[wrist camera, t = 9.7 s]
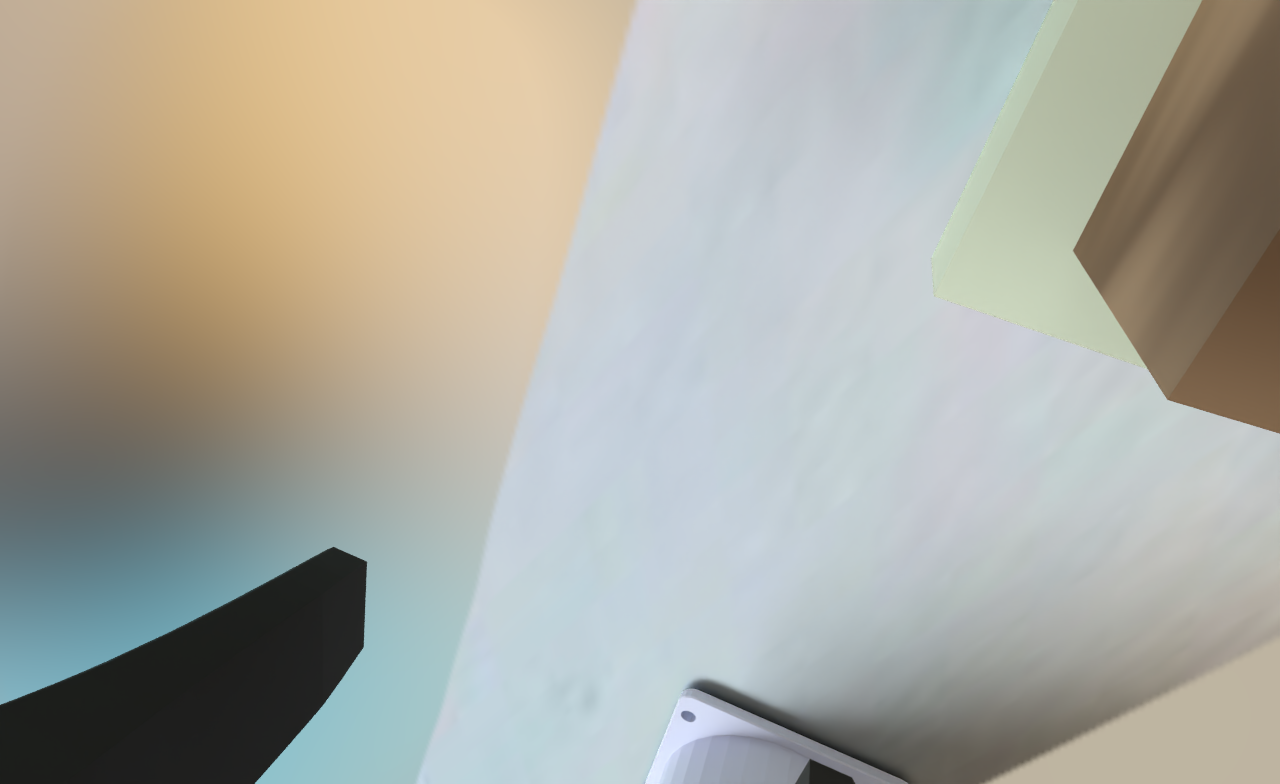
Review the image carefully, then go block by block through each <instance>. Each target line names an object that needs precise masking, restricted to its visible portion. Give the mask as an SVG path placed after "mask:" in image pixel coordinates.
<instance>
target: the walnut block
mask: <svg viewBox="0 0 1280 784" xmlns="http://www.w3.org/2000/svg"><path fill="white" fill-rule="evenodd" d="M1073 252H1074V254H1075V255H1076V257H1077V258H1078V260H1079V261H1080V263H1081V265H1082V266H1083V268H1084V269H1085V271H1086V272H1087V274H1088V276H1089V277H1090V279H1091V280H1092V282H1093V283H1094V285H1095V287H1096V288H1097V290H1098V291H1099V293H1100V294H1101V296H1102V298H1103V299H1104V301H1105V302H1106V304H1107V305H1108V307H1109V309H1110V310H1111V312H1112V313H1113V315H1114V316H1115V318H1116V320H1117V321H1118V323H1119V324H1120V326H1121V328H1122V329H1123V331H1124V332H1125V334H1126V335H1127V337H1128V339H1129V340H1130V342H1131V343H1132V345H1133V346H1134V348H1135V350H1136V351H1137V353H1138V354H1139V356H1140V357H1141V359H1142V361H1143V362H1144V364H1145V365H1146V367H1147V368H1148V370H1149V372H1150V373H1151V375H1152V376H1153V378H1154V379H1155V381H1156V383H1157V384H1158V386H1159V387H1160V389H1161V390H1162V392H1163V394H1164V395H1165V397H1166V398H1167V400H1170V401H1173V402H1177V403H1180V404H1183V405H1187V406H1190V407H1193V408H1197V409H1200V410H1203V411H1207V412H1210V413H1213V414H1217V415H1220V416H1223V417H1227V418H1230V419H1233V420H1237V421H1240V422H1243V423H1247V424H1250V425H1253V426H1256V427H1260V428H1263V429H1266V430H1270V431H1273V432H1276V433H1280V0H1202V2H1201V4H1200V6H1199V8H1198V10H1197V11H1196V13H1195V15H1194V17H1193V19H1192V21H1191V23H1190V25H1189V27H1188V29H1187V31H1186V33H1185V35H1184V37H1183V39H1182V40H1181V42H1180V44H1179V46H1178V48H1177V50H1176V52H1175V54H1174V56H1173V58H1172V60H1171V62H1170V64H1169V66H1168V68H1167V69H1166V71H1165V73H1164V75H1163V77H1162V79H1161V81H1160V83H1159V85H1158V87H1157V89H1156V91H1155V93H1154V95H1153V97H1152V98H1151V100H1150V102H1149V104H1148V106H1147V108H1146V110H1145V112H1144V114H1143V116H1142V118H1141V120H1140V122H1139V124H1138V126H1137V128H1136V129H1135V131H1134V133H1133V135H1132V137H1131V139H1130V141H1129V143H1128V145H1127V147H1126V149H1125V151H1124V153H1123V155H1122V157H1121V158H1120V160H1119V162H1118V164H1117V166H1116V168H1115V170H1114V172H1113V174H1112V176H1111V178H1110V180H1109V182H1108V184H1107V186H1106V187H1105V189H1104V191H1103V193H1102V195H1101V197H1100V199H1099V201H1098V203H1097V205H1096V207H1095V209H1094V211H1093V213H1092V215H1091V216H1090V218H1089V220H1088V222H1087V224H1086V226H1085V228H1084V230H1083V232H1082V234H1081V236H1080V238H1079V240H1078V242H1077V244H1076V245H1075V247H1074V249H1073Z"/></svg>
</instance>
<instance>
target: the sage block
mask: <svg viewBox="0 0 1280 784" xmlns="http://www.w3.org/2000/svg"><path fill="white" fill-rule="evenodd" d="M1201 2H1202V0H1053V2H1052V4H1051V6H1050V9H1049V11H1048V13H1047V15H1046V17H1045V19H1044V21H1043V23H1042V25H1041V28H1040V30H1039V32H1038V34H1037V36H1036V38H1035V40H1034V42H1033V45H1032V47H1031V49H1030V51H1029V53H1028V55H1027V57H1026V59H1025V61H1024V64H1023V66H1022V68H1021V70H1020V72H1019V74H1018V76H1017V78H1016V80H1015V83H1014V85H1013V87H1012V89H1011V91H1010V93H1009V95H1008V97H1007V99H1006V102H1005V104H1004V106H1003V108H1002V110H1001V112H1000V114H999V116H998V118H997V121H996V123H995V125H994V127H993V129H992V131H991V133H990V135H989V137H988V140H987V142H986V144H985V146H984V148H983V150H982V152H981V154H980V156H979V159H978V161H977V163H976V165H975V167H974V169H973V171H972V173H971V176H970V178H969V180H968V182H967V184H966V186H965V188H964V190H963V192H962V195H961V197H960V199H959V201H958V203H957V205H956V207H955V209H954V211H953V214H952V216H951V218H950V220H949V222H948V224H947V226H946V228H945V230H944V233H943V235H942V237H941V239H940V241H939V243H938V245H937V247H936V249H935V252H934V254H933V256H932V258H931V261H932V277H933V294H934V296H935V297H938V298H941V299H944V300H947V301H950V302H953V303H956V304H959V305H961V306H964V307H967V308H970V309H973V310H976V311H979V312H982V313H985V314H988V315H991V316H994V317H997V318H1000V319H1002V320H1005V321H1008V322H1011V323H1014V324H1017V325H1020V326H1023V327H1026V328H1029V329H1032V330H1035V331H1038V332H1041V333H1043V334H1046V335H1049V336H1052V337H1055V338H1058V339H1061V340H1064V341H1067V342H1070V343H1073V344H1076V345H1079V346H1082V347H1085V348H1087V349H1090V350H1093V351H1096V352H1099V353H1102V354H1105V355H1108V356H1111V357H1114V358H1117V359H1120V360H1123V361H1126V362H1128V363H1131V364H1134V365H1137V366H1140V367H1143V368H1146V369H1148V368H1147V367H1146V365H1145V364H1144V362H1143V361H1142V359H1141V357H1140V356H1139V354H1138V353H1137V351H1136V350H1135V348H1134V346H1133V345H1132V343H1131V342H1130V340H1129V339H1128V337H1127V335H1126V334H1125V332H1124V331H1123V329H1122V328H1121V326H1120V324H1119V323H1118V321H1117V320H1116V318H1115V316H1114V315H1113V313H1112V312H1111V310H1110V309H1109V307H1108V305H1107V304H1106V302H1105V301H1104V299H1103V298H1102V296H1101V294H1100V293H1099V291H1098V290H1097V288H1096V287H1095V285H1094V283H1093V282H1092V280H1091V279H1090V277H1089V276H1088V274H1087V272H1086V271H1085V269H1084V268H1083V266H1082V265H1081V263H1080V261H1079V260H1078V258H1077V257H1076V255H1075V254H1074V252H1073V249H1074V247H1075V245H1076V244H1077V242H1078V240H1079V238H1080V236H1081V234H1082V232H1083V230H1084V228H1085V226H1086V224H1087V222H1088V220H1089V218H1090V216H1091V215H1092V213H1093V211H1094V209H1095V207H1096V205H1097V203H1098V201H1099V199H1100V197H1101V195H1102V193H1103V191H1104V189H1105V187H1106V186H1107V184H1108V182H1109V180H1110V178H1111V176H1112V174H1113V172H1114V170H1115V168H1116V166H1117V164H1118V162H1119V160H1120V158H1121V157H1122V155H1123V153H1124V151H1125V149H1126V147H1127V145H1128V143H1129V141H1130V139H1131V137H1132V135H1133V133H1134V131H1135V129H1136V128H1137V126H1138V124H1139V122H1140V120H1141V118H1142V116H1143V114H1144V112H1145V110H1146V108H1147V106H1148V104H1149V102H1150V100H1151V98H1152V97H1153V95H1154V93H1155V91H1156V89H1157V87H1158V85H1159V83H1160V81H1161V79H1162V77H1163V75H1164V73H1165V71H1166V69H1167V68H1168V66H1169V64H1170V62H1171V60H1172V58H1173V56H1174V54H1175V52H1176V50H1177V48H1178V46H1179V44H1180V42H1181V40H1182V39H1183V37H1184V35H1185V33H1186V31H1187V29H1188V27H1189V25H1190V23H1191V21H1192V19H1193V17H1194V15H1195V13H1196V11H1197V10H1198V8H1199V6H1200V4H1201Z"/></svg>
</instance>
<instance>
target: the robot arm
mask: <svg viewBox="0 0 1280 784" xmlns="http://www.w3.org/2000/svg"><path fill="white" fill-rule="evenodd" d="M366 570H367V562H366V561H364V560H362V559H360V558H357V557H355V556H353V555H350V554H348V553H346V552H344V551H341V550H339V549H337V548H335V547H332V548H330V549H327V550H326V551H324V552H322V553H320V554H318V555H316V556H314V557H312V558H311V559H309V560H307V561H305V562H303V563H301V564H300V565H298V566H296V567H294V568H292V569H290V570H289V571H287V572H285V573H283V574H282V575H279V576H277V577H276V578H274V579H272V580H270V581H268V582H266V583H264V584H263V585H261V586H259V587H257V588H255V589H253V590H251V591H249V592H248V593H246V594H244V595H242V596H240V597H238V598H236V599H234V600H232V601H231V602H228V603H227V604H225V605H223V606H221V607H219V608H217V609H215V610H213V611H211V612H209V613H207V614H205V615H203V616H201V617H199V618H197V619H195V620H193V621H191V622H189V623H187V624H185V625H183V626H181V627H179V628H177V629H175V630H173V631H171V632H169V633H167V634H165V635H163V636H161V637H158V638H156V639H154V640H152V641H150V642H148V643H145V644H143V645H141V646H139V647H137V648H135V649H133V650H131V651H128V652H126V653H124V654H122V655H120V656H117V657H115V658H113V659H111V660H109V661H107V662H104V663H102V664H100V665H98V666H95V667H93V668H91V669H89V670H86V671H84V672H81V673H79V674H77V675H74V676H72V677H70V678H67V679H65V680H62V681H60V682H58V683H55V684H53V685H50V686H47V687H45V688H42V689H40V690H37V691H35V692H32V693H30V694H27V695H25V696H22V697H20V698H17V699H15V700H12V701H9V702H7V703H4V704H1V705H0V784H255V782H256V781H257V780H258V779H259V778H260V777H261V776H262V775H263V773H264V772H265V771H266V770H267V769H268V768H269V767H270V765H271V764H272V763H273V762H274V761H275V760H276V759H277V758H278V756H279V755H280V754H281V753H282V752H283V751H284V750H285V749H286V747H287V746H288V745H289V744H290V743H291V742H292V740H293V739H294V738H295V737H296V736H297V735H298V734H299V732H300V731H301V730H302V729H303V728H304V727H305V726H306V724H307V723H308V722H309V721H310V720H311V719H312V717H313V716H314V715H315V714H316V713H317V712H318V710H319V709H320V708H321V707H322V706H323V704H324V703H325V702H326V700H327V699H328V698H329V696H330V695H331V693H332V692H333V690H334V689H335V688H336V686H337V685H338V683H339V682H340V681H341V679H342V678H343V676H344V675H345V674H346V672H347V671H348V669H349V667H350V666H351V665H352V663H353V662H354V660H355V659H356V657H357V656H358V654H359V653H360V652H361V650H362V649H363V647H364V622H365V621H364V620H365V597H366V596H365V595H366ZM689 711H690V712H689ZM645 784H908V783H907V782H905V781H903V780H902V779H900V778H897V777H895V776H893V775H890V774H888V773H886V772H884V771H881V770H879V769H877V768H875V767H872V766H870V765H868V764H865V763H863V762H861V761H859V760H856V759H854V758H852V757H850V756H847V755H845V754H843V753H840V752H838V751H836V750H834V749H831V748H829V747H827V746H825V745H822V744H820V743H818V742H816V741H813V740H811V739H809V738H806V737H804V736H802V735H800V734H797V733H795V732H793V731H791V730H788V729H786V728H784V727H781V726H779V725H777V724H775V723H772V722H770V721H768V720H766V719H763V718H761V717H759V716H756V715H754V714H752V713H750V712H747V711H745V710H743V709H741V708H738V707H736V706H734V705H731V704H729V703H727V702H725V701H722V700H720V699H718V698H716V697H713V696H711V695H709V694H706V693H704V692H702V691H700V690H697V689H685V690H683V691H682V693H681V695H680V697H679V700H678V702H677V705H676V707H675V710H674V712H673V715H672V717H671V720H670V722H669V725H668V727H667V730H666V732H665V735H664V737H663V739H662V742H661V744H660V747H659V749H658V752H657V754H656V757H655V759H654V762H653V764H652V767H651V769H650V772H649V774H648V777H647V779H646V782H645Z"/></svg>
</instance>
